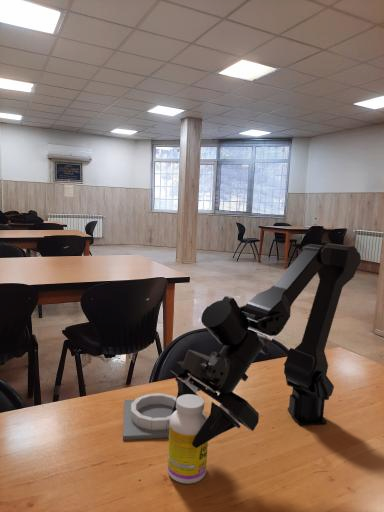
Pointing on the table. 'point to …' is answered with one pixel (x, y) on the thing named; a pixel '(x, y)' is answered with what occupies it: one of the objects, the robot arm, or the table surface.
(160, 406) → the socket plate
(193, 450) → the supplement bottle
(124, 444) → the table surface
